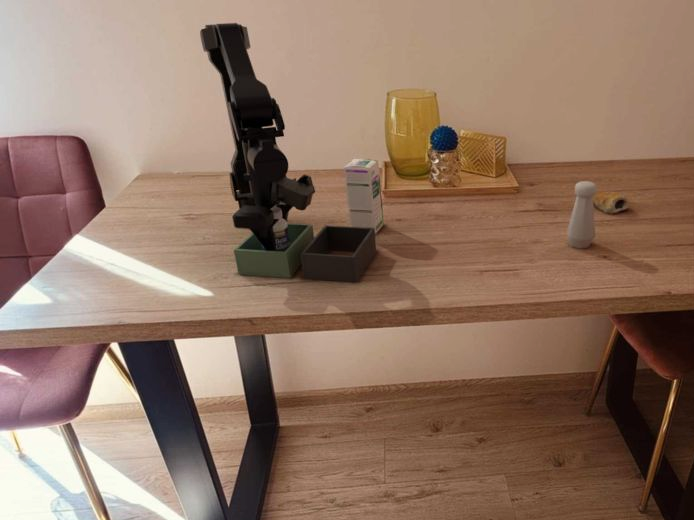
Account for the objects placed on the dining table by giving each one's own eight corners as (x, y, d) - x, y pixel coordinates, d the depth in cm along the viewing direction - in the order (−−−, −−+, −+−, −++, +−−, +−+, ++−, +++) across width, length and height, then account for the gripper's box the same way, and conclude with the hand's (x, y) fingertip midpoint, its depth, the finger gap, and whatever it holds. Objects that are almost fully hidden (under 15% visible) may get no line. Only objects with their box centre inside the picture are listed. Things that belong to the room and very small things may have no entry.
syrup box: (376, 234, 137) (370, 167, 129) (349, 232, 138) (343, 165, 130) (384, 224, 142) (379, 159, 134) (358, 222, 143) (352, 157, 135)
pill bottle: (281, 265, 123) (273, 217, 117) (258, 260, 124) (249, 212, 119) (297, 254, 127) (290, 207, 122) (275, 250, 129) (267, 203, 123)
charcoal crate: (303, 278, 119) (300, 254, 116) (327, 248, 131) (325, 225, 128) (356, 282, 118) (354, 257, 115) (376, 251, 130) (374, 227, 127)
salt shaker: (596, 241, 134) (603, 180, 127) (591, 251, 130) (599, 189, 123) (568, 237, 136) (574, 177, 129) (563, 247, 131) (569, 185, 124)
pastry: (584, 202, 154) (585, 187, 152) (606, 198, 157) (608, 183, 155) (609, 215, 147) (611, 199, 145) (631, 210, 150) (634, 194, 148)
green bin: (238, 274, 121) (233, 249, 118) (268, 244, 132) (264, 221, 130) (290, 277, 119) (286, 253, 117) (315, 247, 131) (312, 224, 129)
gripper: (286, 184, 107) (298, 269, 116) (322, 153, 123) (331, 230, 131) (223, 181, 108) (240, 265, 117) (267, 151, 124) (279, 227, 132)
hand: (276, 245), depth 124 cm, fingers closed on pill bottle, 5 cm apart
